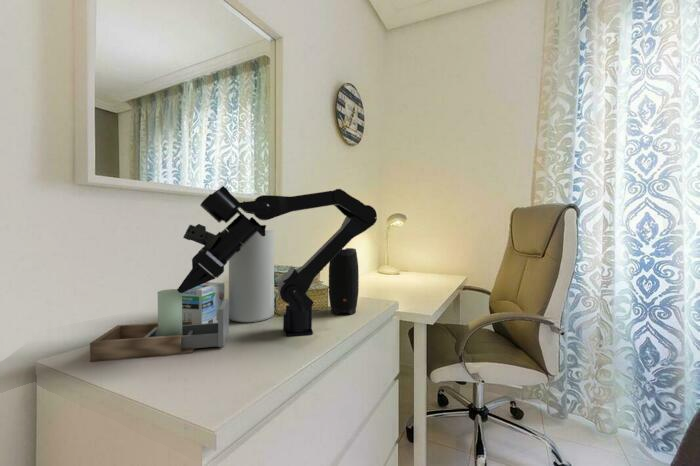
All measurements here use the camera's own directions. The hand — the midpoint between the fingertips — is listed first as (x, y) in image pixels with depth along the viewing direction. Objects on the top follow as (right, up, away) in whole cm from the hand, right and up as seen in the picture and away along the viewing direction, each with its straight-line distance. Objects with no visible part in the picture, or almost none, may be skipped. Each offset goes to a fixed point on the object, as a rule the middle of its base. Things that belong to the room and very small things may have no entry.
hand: (181, 287), depth 69 cm
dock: (-5, -12, -1) cm, 14 cm away
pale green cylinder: (-2, -12, -1) cm, 12 cm away
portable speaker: (+35, -12, +28) cm, 46 cm away
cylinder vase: (+9, -12, +22) cm, 27 cm away
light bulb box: (-1, -13, +13) cm, 18 cm away
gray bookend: (+1, -12, 0) cm, 13 cm away
